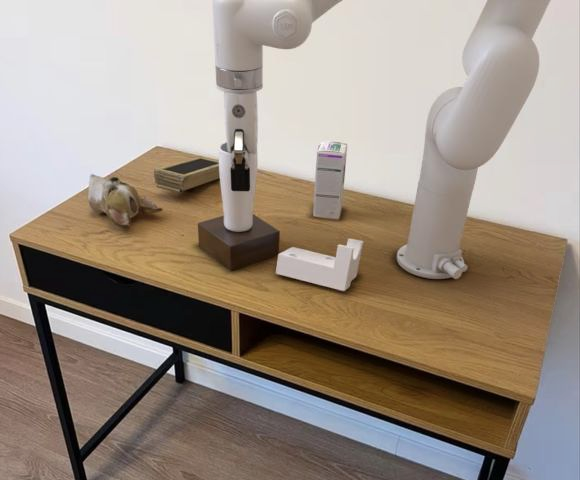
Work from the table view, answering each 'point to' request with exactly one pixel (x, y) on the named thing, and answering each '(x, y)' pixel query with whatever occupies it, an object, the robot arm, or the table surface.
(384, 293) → the table surface
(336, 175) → the syrup box
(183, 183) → the box
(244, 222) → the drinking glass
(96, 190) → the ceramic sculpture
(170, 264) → the table surface
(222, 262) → the walnut block
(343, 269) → the bracket
